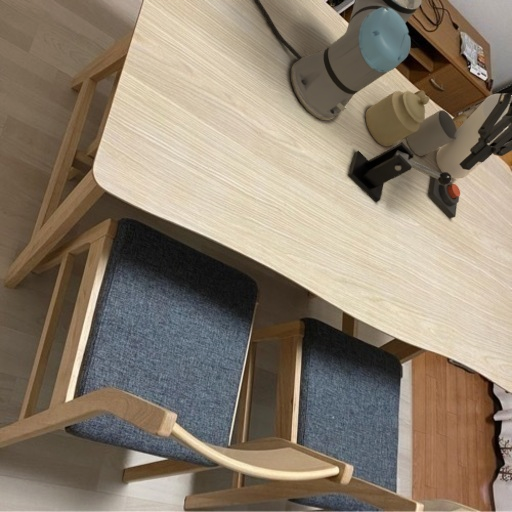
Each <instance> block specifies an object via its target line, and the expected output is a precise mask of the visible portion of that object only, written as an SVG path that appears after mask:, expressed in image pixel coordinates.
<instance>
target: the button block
mask: <svg viewBox="0 0 512 512" xmlns="http://www.w3.org/2000/svg"><path fill="white" fill-rule="evenodd" d="M452 184H453V182H452V181H451V182H450V183H449V184H448V185H441V184H439V182H438V179H436V178H434V177H432V176H430V180H429V185H428V186H429V187H428V193H427V196H428V198H429V199H430V200H431V201H432V202H433V203H434V204H435V205H436V206H437V207H438V208H439V209H440V210H441V211H442V212H443V213H444V214H445V215H446V216H447V217H448V218H449V219H453V218H455V217H456V216H457V207H458V203H459V201H460V196H459V197H456V198H454V199H452V198H451V197H450V196H449V194H448V191H447V187H448V186H450V185H452Z"/></svg>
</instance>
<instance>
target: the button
mask: <svg viewBox="0 0 512 512" xmlns="http://www.w3.org/2000/svg"><path fill="white" fill-rule="evenodd" d="M447 191H448V194H449V196H450V197H451V198H452V199H454V198H456V197H459V198H460V196H461V190H460V188H459V185H458V184H456V183H452V185H450V186H448V187H447Z"/></svg>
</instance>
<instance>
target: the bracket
mask: <svg viewBox="0 0 512 512" xmlns="http://www.w3.org/2000/svg"><path fill="white" fill-rule="evenodd" d="M397 150H399V151H401V152H403V153H406V154H408V155H409V156H408V159H409V160H411V159H413V158H414V157H415V153H414V152H413V151H412V150H411V149H410V148H409V147H407V146H406V144H404V143H403V141H401V142H399V143H397V144H396V145H394V146H392V147H390V148H388V149H386V150H384V151H382V152H380V153H379V154H377V155H376V156H374V157H372V158H370V159H368V158H367V157H366V156H365V154H363V153H362V152H361V151H360V150H356V151H355V152H354V154H353V157H352V160H351V165H350V168H349V172H348V175H347V176H348V177H349V178H350V179H351V180H352V181H353V182H354V183H356V185H357V186H359V187H360V189H361V190H362V191H364V193H366V194H367V195H368V196H369V197H370V198H371V199H372V200H373V201H374V202H375V203H377V202H380V201H381V198H382V193H383V189H384V184H385V183H387V182H389V181H391V180H393V179H395V178H397V177H399V176H401V175H403V174H405V173H407V172H409V171H411V170H412V168H411V167H412V166H411V165H410V164H409V163H408V162H407V161H406V160H405V159H404V158H403V157H402V156H401V155H400V154H398V155H396V156H394V154H395V153H396V151H397ZM393 156H394V157H393ZM392 157H393V158H392Z"/></svg>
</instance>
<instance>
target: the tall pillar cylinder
mask: <svg viewBox="0 0 512 512" xmlns="http://www.w3.org/2000/svg"><path fill="white" fill-rule="evenodd" d="M500 94H501V93H493V94H490V95H489V96H487V97H486V98H485V99H484V100H483V101H482V102H481V103H482V104H481V105H480V106H479V107H478V108H477V109H476V110H475V111H474V112H473V113H472V114H471V115H470V117H469V118H468V119H467V120H466V121H465V122H464V123H463V124H462V125H461V126H460V127H459V129H458V130H457V131H456V133H455V135H454V137H456V139H455V140H453V141H451V142H449V143H447V144H445V145H443V146H441V147H439V148H438V150H437V152H436V156H435V158H436V159H435V160H436V165H437V166H438V169H439V170H440V171H441V173H442V172H448V173H449V174H450V175H451V177H452V179H457V180H459V179H464V178H465V177H467V176H469V175H470V174H471V173H472V172H473V171H474V170H475V169H477V168H478V167H479V166H480V165H481V164H482V163H483V162H478V163H477V164H475V165H474V166H473V167H472V168H471V169H470V170H466V169H463V168H462V167H461V166H460V163H461V162H462V161H463V160H464V159H465V158H466V157H467V156H469V155H470V154H471V151H470V149H471V148H472V147H473V146H474V145H475V144H476V143H477V142H478V139H479V138H480V134H478V130H479V129H480V127H481V126H482V124H483V123H484V121H485V120H486V119H487V117H488V116H489V114H490V113H491V112H492V110H493V109H494V107H495V106H496V104H497V103H498V100H499V97H500ZM509 105H510V104H509ZM509 105H508V106H507V108H506V109H505V111H504V112H503V114H502V115H501V117H500V118H499V119H498V121H497V122H496V124H497V123H498V122H499V121H500V120H501V119H502V117H503V116H504V115H505V114H506V113H507V112H508V109H509ZM496 124H495V125H496ZM507 128H508V127H506V128H505V129H504V130H503V131H502V132H501V133H500V134H499V135H501V134H502V133H503V132H504V131H505V130H506V129H507ZM499 135H498V136H499ZM498 136H497V137H498ZM497 137H496V138H497ZM496 138H494V139H493V140H492V141H491V142H490V143H488V145H490V144H491V143H492V142H493V141H494V140H495V139H496Z"/></svg>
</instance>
